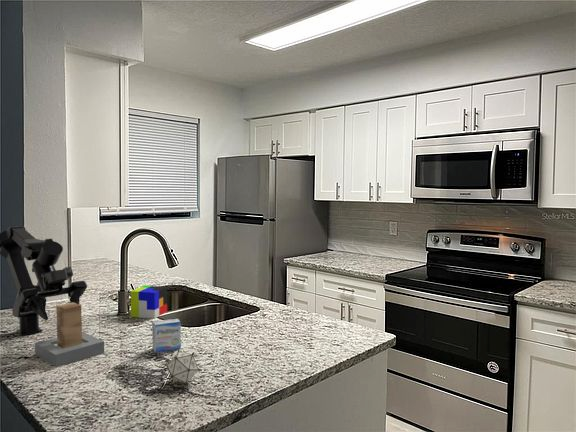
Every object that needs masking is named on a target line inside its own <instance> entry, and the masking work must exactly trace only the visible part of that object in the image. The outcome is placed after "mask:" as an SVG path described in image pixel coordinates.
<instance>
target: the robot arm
mask: <svg viewBox="0 0 576 432" xmlns="http://www.w3.org/2000/svg"><path fill="white" fill-rule="evenodd" d="M63 249H64V248H63V245H62V244H60V243H59V242H58V241H54V239H53V238H45V239H40V238H39V239H37V238H35V236H34V235H32V234H31V233H30V232H28V230H27V229H26V227H25V226H22V225H20V226H19V225H18V226H17V225H16V226H9V227H7V228H6V230H4V231H2V232H0V256H1V257H3V258H5V259H6V261H7V264H8V266H9V269H10V272H11V275H12V278H13V280H14V283H15V286H16V287H15V288H16V290H17V294H16V298H15V302H14V304H13V306H12V308H11V311H12V312H11V313H12V316H14V317H16V318H17V319H18V321H19V323H18V324H19V329H16V330H15V332H16V333H18V335H20V336H21V337H23V336H27V335H28V336H29V335H32V334H37V333H42V332H43V329H42V328H41V327H40V319H39V317H40V318H41V319H42V320H45V321H48V320H49V317H48V313H47V311H46V307H47V298H50V297H57V296H61V295H62V296H63V295H66V294H67V295H68V297H69V303H72V302H74V303H77V304H79V305H80V298H81V297H82V296H83V295H84V293H85V291H86V290H87V288H88V284H87V282H86V281H85V280H77V281H72V282H71V284H70V285H69V286H67V287H63V286H65V285H66V281H68V280H69V279H70V278H72V277H73V276H74V271H73V269H72V267H71V266H67V267H66V266H65V267H64V268H63V269H59V270H58V269H57V270H56V268H55V265H56V264H57V263H58V261H59V259H60V257H61V255H62V254H63V251H64V250H63ZM24 258H25V259H26V261H33V262H32V265H31V267H32V268H31V272H32V273H34V275H35V278H36V281H37V282H36V285H34V284H33V280H32V277H31V276H30V273H29V270H28V267H27V265H26V262H25V259H24Z"/></svg>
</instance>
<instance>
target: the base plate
mask: <svg viewBox="0 0 576 432" xmlns="http://www.w3.org/2000/svg"><path fill="white" fill-rule="evenodd" d="M104 353H105V340H102V339H100V338H97V337H95V336H93V335H91V334H88V333H86V332H84V331H82V344H79V345H76V346H72V347H68V348H64V349H63V348H62V347H60V346H58V345H57V337H53V338H50V339H46V340H41V341H38V342H35V343H34V355H35V356H36V357H38V358H40V359H41V360H43V361H45V362H47V363H48V364H49V365H52V366H53V367H55V368H58V367H61V366H64V365H68V364H71V363H74V362H78V361H81V360H84V359H87V358H88V359H89V358H91V357H94V356H98V355H101V354H104Z"/></svg>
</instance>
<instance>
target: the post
mask: <svg viewBox="0 0 576 432" xmlns="http://www.w3.org/2000/svg"><path fill="white" fill-rule="evenodd" d="M55 308H56V311H55V313H56V338H57V345H58V346H60V347H62V348H63V349H64V348H68V347H72V346H76V345H79V344H82V332H83V328H82V327H83V326H82V323H83V322H82V321H83V320H82V319H83V318H82V317H83V316H82V305H81V304H80V303H79V304H77V303H74V302H72V303H71V302H69V303H63V304H58V305H56V306H55Z"/></svg>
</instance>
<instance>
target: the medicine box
mask: <svg viewBox="0 0 576 432" xmlns="http://www.w3.org/2000/svg"><path fill="white" fill-rule="evenodd" d="M151 323H152V325H151V329H152V332H151V333H152V336H151V337H152V339H151V341H152V350H153V351H154V353H155V354H156V353H162V352H170V351H175V350H178V349H179V350H180V349H181V347H182V344H181V343H182V342H181V341H182V337H181V335H182V334H181V333H182V329H181V328H182V327H181V326H182V324H181V321H180V319H179V318H172V319H164V320H157V321H156V320H155V321H152V322H151Z"/></svg>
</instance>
